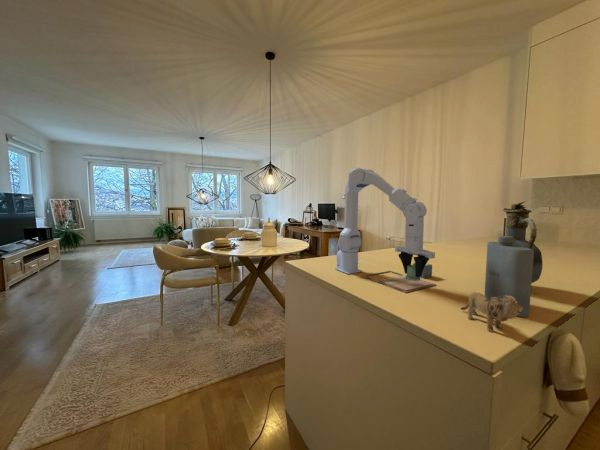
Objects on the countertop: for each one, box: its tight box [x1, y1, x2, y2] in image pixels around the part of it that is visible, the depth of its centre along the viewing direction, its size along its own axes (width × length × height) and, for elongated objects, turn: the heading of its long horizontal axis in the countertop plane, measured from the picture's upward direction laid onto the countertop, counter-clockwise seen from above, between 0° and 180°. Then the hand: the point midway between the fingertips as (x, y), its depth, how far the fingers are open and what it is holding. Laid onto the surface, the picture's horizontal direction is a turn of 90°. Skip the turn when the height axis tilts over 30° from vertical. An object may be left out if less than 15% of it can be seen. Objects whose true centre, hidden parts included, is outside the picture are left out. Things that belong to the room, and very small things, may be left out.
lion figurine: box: [459, 291, 523, 333], centre depth 60 cm, size 15×5×9 cm, turn 10°
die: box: [412, 262, 433, 279], centre depth 100 cm, size 5×5×5 cm
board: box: [361, 270, 437, 294], centre depth 94 cm, size 21×16×1 cm
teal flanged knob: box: [406, 264, 421, 281], centre depth 87 cm, size 5×5×4 cm
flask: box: [483, 235, 534, 318], centre depth 70 cm, size 15×6×20 cm, turn 169°
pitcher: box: [502, 200, 543, 284], centre depth 83 cm, size 11×19×30 cm, turn 160°
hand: (412, 274), depth 87 cm, fingers closed on teal flanged knob, 4 cm apart
